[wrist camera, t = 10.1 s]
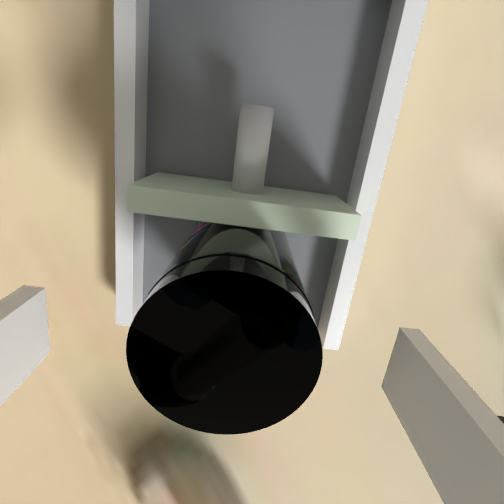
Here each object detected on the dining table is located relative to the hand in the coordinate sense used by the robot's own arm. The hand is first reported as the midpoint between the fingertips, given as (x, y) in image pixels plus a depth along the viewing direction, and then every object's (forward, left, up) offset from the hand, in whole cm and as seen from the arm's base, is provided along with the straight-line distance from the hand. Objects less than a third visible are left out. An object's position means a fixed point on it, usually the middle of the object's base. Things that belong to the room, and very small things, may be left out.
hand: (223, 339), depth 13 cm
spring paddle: (+5, +4, -9) cm, 11 cm away
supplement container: (0, 0, -9) cm, 9 cm away
